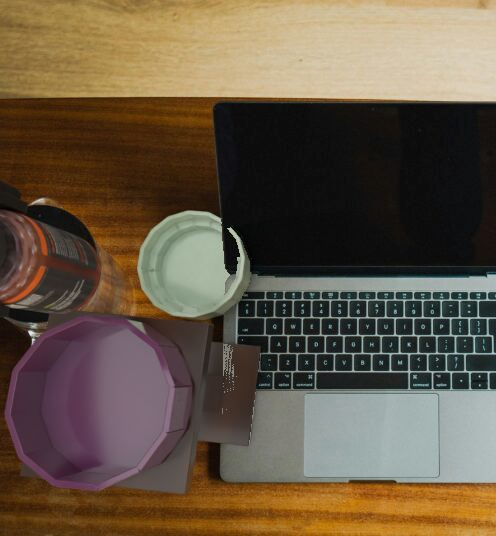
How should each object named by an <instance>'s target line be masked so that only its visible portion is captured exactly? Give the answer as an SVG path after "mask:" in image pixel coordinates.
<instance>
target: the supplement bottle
mask: <svg viewBox="0 0 496 536" xmlns="http://www.w3.org/2000/svg"><path fill="white" fill-rule="evenodd" d="M99 257H100V256H99V254H98V253H97V252H96V250H95V248H94V247H93V246H92V245H91V244H90V243H89V242H88V241H86V240H85V239H83V238H81V237H80V236H78V235H76V234H74V233H71V232H68V231H67V230H66V231H65V230H63V229H60V228H58V227H55V226H53V225H50V224H48V223H45V222H43V221H40V220H37V219H35V218H32V217H31V216H28V215H26V214H19V213H17V212H14V211H10V210H6V209H0V305H4V306H10V308H11V309H18V310H24V311H31V312H37V313H44V314H49V313H50V314H65V313H69V312H72V311H75V310H77V311H78V310H79V309H81V308H82V307H84V306H85V305H86V304H88V303H89V301H90V300H91V299H93V297H94V296H95V294H96V291H97V290H98V288H99V285H100V283H101V278H102V265H101V260H100V258H99Z"/></svg>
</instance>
